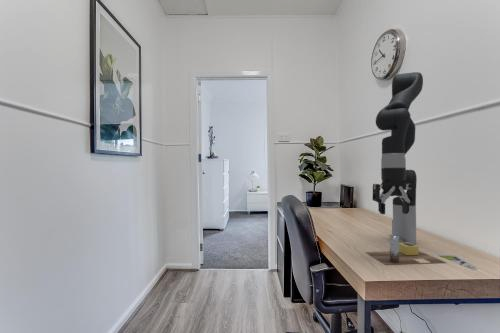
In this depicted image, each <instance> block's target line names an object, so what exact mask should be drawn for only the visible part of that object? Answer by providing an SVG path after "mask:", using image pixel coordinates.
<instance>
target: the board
mask: <svg viewBox="0 0 500 333" xmlns="http://www.w3.org/2000/svg"><path fill="white" fill-rule="evenodd" d="M364 253H365V254H366V255H368V256H369V257H371V258H373V259H375V260H376V261H378V262H379V263H381V264H383V265H385V266H398V265H399V266H402V265H405V266H406V265H429V264H436V265H437V264H447V262H446V261H444V260H441V259H439V258H437V257H434V256H432V255H430V254H427V253H425V252H423V251H420V250H418V255H405V254H403V253H401V252H399V263H393V262H390V251H364ZM418 260H425V261H428V262H419V261H418Z"/></svg>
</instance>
